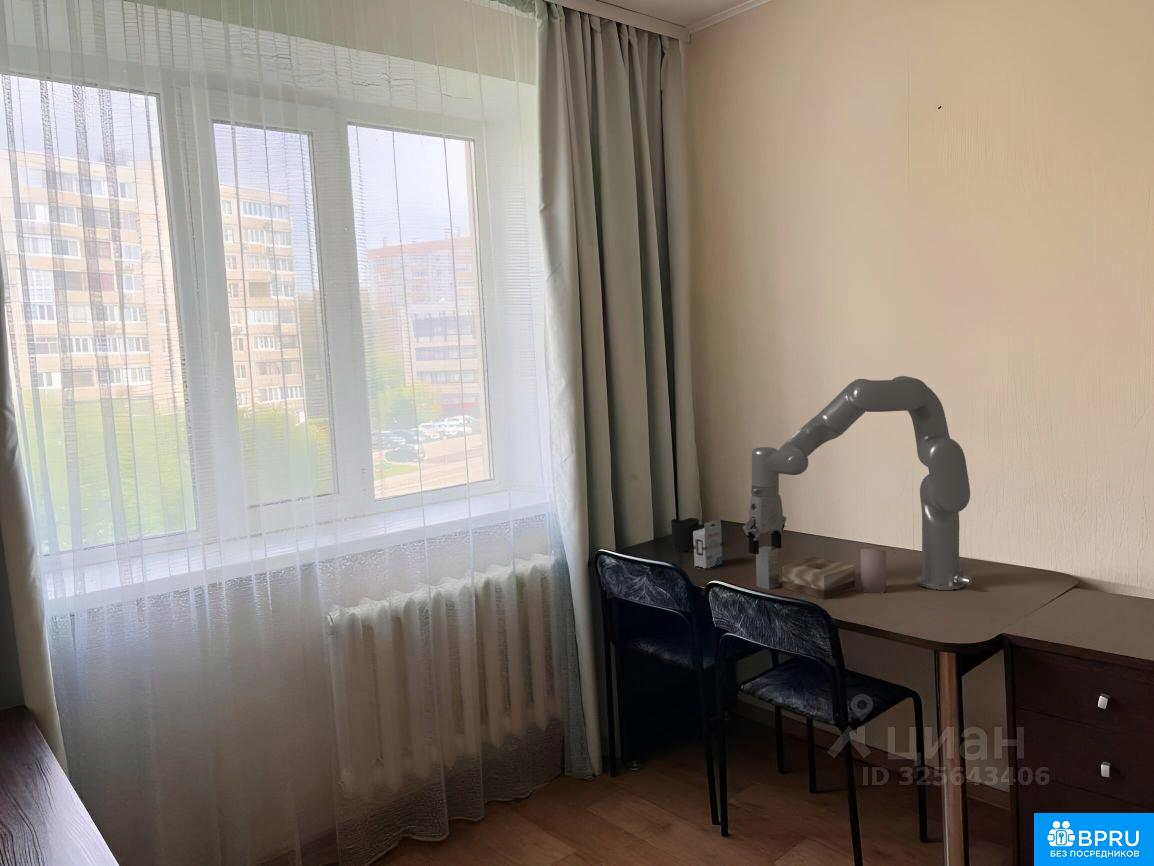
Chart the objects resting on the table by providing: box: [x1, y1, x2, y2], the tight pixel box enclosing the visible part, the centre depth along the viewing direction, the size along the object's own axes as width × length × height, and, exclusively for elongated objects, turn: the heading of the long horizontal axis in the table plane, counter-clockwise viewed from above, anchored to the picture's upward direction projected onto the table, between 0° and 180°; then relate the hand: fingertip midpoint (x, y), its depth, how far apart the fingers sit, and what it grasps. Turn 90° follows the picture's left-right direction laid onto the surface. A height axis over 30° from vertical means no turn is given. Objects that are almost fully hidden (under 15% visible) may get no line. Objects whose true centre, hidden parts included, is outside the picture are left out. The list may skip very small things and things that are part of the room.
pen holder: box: [670, 517, 700, 551], centre depth 287 cm, size 9×9×10 cm
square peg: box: [755, 545, 780, 590], centre depth 241 cm, size 4×4×11 cm
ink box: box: [693, 518, 723, 569], centre depth 265 cm, size 8×5×15 cm, turn 133°
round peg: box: [860, 547, 887, 594], centre depth 233 cm, size 6×6×11 cm
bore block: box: [781, 556, 856, 600], centre depth 237 cm, size 14×14×6 cm
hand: (765, 550), depth 241 cm, fingers open, 9 cm apart
